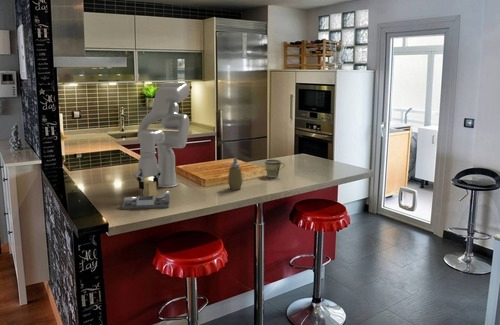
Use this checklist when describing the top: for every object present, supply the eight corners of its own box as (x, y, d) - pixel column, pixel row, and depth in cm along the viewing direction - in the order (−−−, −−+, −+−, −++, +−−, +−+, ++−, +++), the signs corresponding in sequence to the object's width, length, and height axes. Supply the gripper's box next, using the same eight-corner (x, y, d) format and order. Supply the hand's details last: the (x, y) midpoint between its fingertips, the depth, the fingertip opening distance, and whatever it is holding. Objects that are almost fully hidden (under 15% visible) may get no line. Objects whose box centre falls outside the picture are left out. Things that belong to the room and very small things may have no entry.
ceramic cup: (262, 177, 274) (262, 161, 272) (268, 173, 283) (269, 158, 281) (280, 179, 268) (281, 163, 266) (287, 176, 277) (287, 160, 275)
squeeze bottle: (242, 186, 251) (242, 156, 247) (242, 190, 243) (242, 159, 239) (228, 186, 250) (228, 156, 247) (228, 190, 242) (227, 158, 239)
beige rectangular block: (143, 196, 229) (142, 182, 228) (150, 194, 233) (149, 180, 232) (149, 198, 226) (148, 183, 225) (156, 196, 230) (156, 181, 229)
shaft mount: (121, 209, 208) (121, 194, 206) (124, 203, 217) (123, 189, 215) (170, 207, 211) (169, 193, 210) (170, 202, 220) (170, 188, 219)
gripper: (155, 152, 234) (156, 183, 237) (129, 156, 220) (130, 189, 223) (165, 153, 230) (166, 185, 233) (139, 157, 216) (140, 191, 219)
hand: (148, 187), depth 228 cm, fingers open, 9 cm apart
